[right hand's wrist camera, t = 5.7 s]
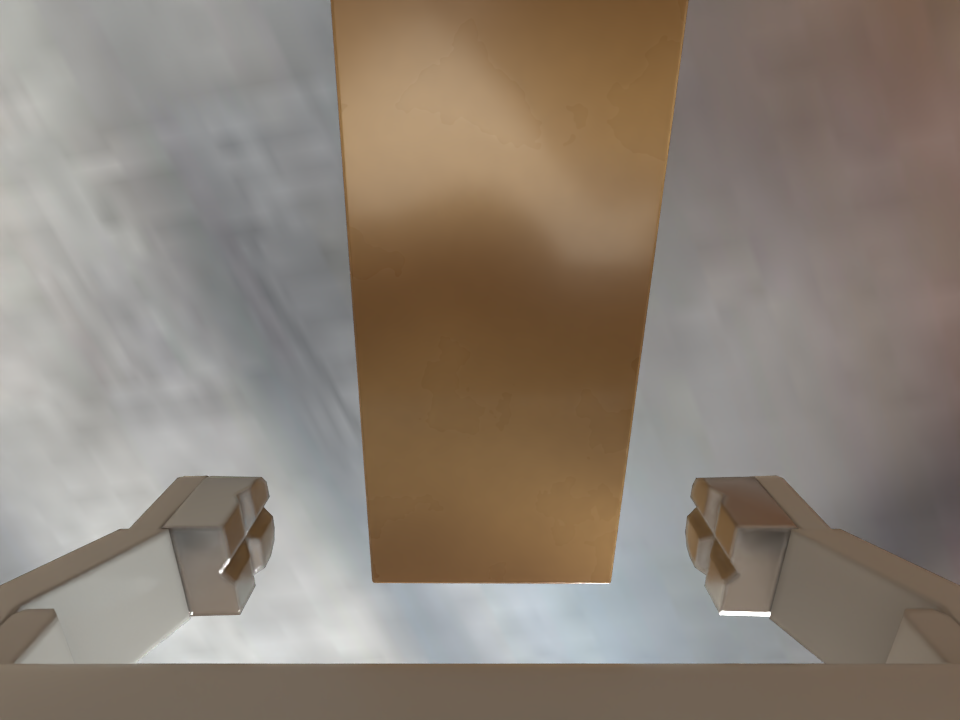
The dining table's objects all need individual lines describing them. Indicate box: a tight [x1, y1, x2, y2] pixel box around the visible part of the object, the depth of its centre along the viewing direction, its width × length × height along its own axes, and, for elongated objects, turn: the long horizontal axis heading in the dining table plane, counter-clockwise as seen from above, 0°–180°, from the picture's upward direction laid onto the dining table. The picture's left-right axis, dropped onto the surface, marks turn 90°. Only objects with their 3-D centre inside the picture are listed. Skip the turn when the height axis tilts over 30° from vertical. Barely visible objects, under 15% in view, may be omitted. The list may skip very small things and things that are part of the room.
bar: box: [331, 0, 689, 584], centre depth 13 cm, size 23×6×9 cm, turn 179°
